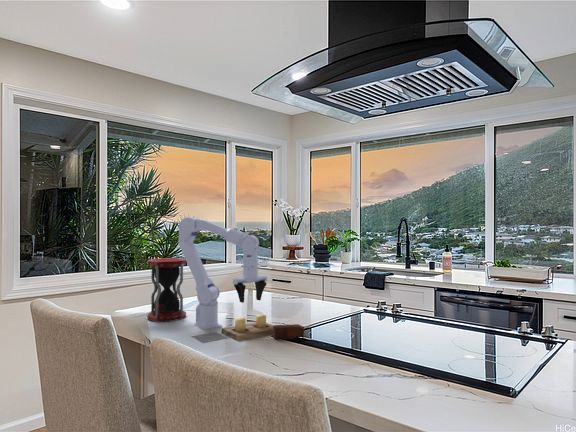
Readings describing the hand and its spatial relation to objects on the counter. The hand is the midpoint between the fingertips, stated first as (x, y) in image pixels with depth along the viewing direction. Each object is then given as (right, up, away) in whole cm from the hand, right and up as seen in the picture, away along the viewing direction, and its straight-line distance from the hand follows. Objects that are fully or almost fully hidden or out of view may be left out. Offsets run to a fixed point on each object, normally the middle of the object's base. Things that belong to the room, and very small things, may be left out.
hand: (250, 301), depth 162 cm
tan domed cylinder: (+5, -10, -5) cm, 13 cm away
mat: (-13, -10, -14) cm, 22 cm away
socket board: (+1, -10, -8) cm, 13 cm away
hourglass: (-38, -11, +17) cm, 43 cm away
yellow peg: (-3, -10, -11) cm, 15 cm away
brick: (+15, -11, -14) cm, 23 cm away
